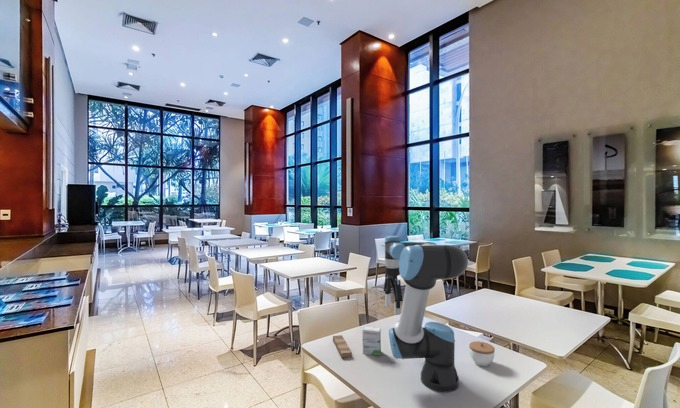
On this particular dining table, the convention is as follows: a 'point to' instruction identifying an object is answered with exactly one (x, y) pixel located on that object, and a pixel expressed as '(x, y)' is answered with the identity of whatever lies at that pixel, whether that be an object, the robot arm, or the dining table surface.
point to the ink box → (371, 341)
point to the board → (342, 347)
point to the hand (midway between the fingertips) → (392, 310)
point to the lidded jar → (481, 353)
